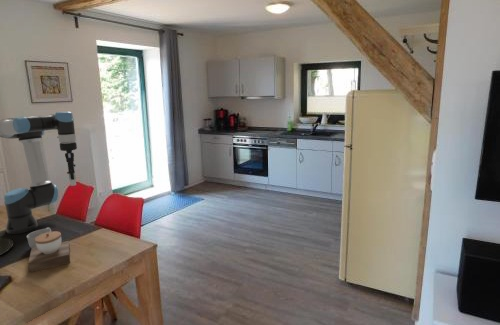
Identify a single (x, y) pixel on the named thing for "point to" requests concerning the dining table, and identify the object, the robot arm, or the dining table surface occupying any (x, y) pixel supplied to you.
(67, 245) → the walnut block
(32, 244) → the teacup
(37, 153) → the robot arm
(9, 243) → the dining table surface
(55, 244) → the lidded jar
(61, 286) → the dining table surface
